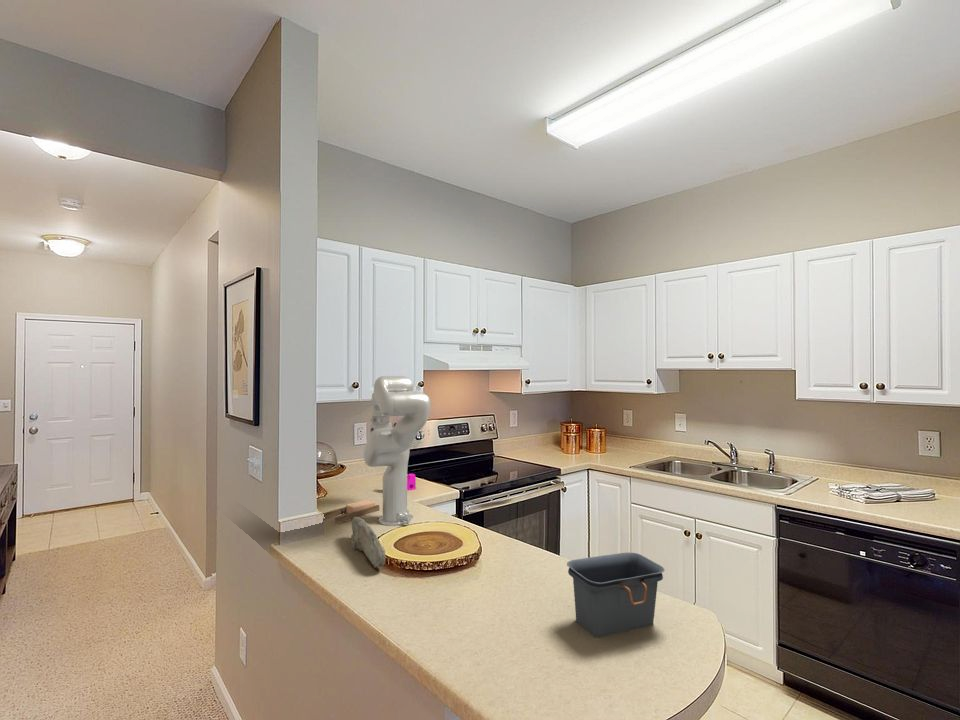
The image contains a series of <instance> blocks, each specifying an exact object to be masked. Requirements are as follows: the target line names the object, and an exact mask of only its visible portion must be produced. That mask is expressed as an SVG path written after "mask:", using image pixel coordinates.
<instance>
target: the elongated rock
mask: <svg viewBox="0 0 960 720" xmlns="http://www.w3.org/2000/svg"><path fill="white" fill-rule="evenodd" d="M351 532H352V534H351V535H350V541H351V545H350V547H351V549H352V550H358V551H360V552H363V553H364V555H365V556H366V557H367V559H368V560H369V561H370V563H371V564H372V565H373V568H378V569H383V566H384V565H385V564H386V550H385V548H384V546H382V545H383V544H381V542H380V541H379V538H378V537H377V534H376V533H375V532H374V530H373V528H372V527H371V526H369V524H368V523H367V521H365V519H364V518H361V516H360V517H354V518H353V519H351Z"/></svg>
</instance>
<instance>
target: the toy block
mask: <svg viewBox="0 0 960 720" xmlns="http://www.w3.org/2000/svg"><path fill="white" fill-rule="evenodd" d="M416 479H417V478H416V474H415V473H407V491H413V490H416V489H417V487H416V481H417V480H416Z"/></svg>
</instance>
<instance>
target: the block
mask: <svg viewBox="0 0 960 720" xmlns="http://www.w3.org/2000/svg"><path fill="white" fill-rule="evenodd" d="M372 506H376V502H374V501H372V500H368V499H366V500H361V501H357V502H352V503H347V504H346V505H345V507H346V513H345V514H349V513H352V512H356V511H359V510H362V509H366V508H369V507H372Z"/></svg>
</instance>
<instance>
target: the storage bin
mask: <svg viewBox="0 0 960 720" xmlns="http://www.w3.org/2000/svg"><path fill="white" fill-rule="evenodd" d="M566 566H567V567H568V569H567V571H568V575H569V576H570V577H572V579H573V580H572V581H573V593H574V596H573V597H574V608H575V622H577V624H579V625H580V626H581V627H582V628H583V629H584V630H585V631H586V632H588V633H589V634H590V635H591V636H592V637H593V638H597V639H599V638H604V637H607V636H612V635H615V634H618V633H623V632H628V631H631V630H635V629H640V628H643V627H648V626H652V625H654V619H655V611H656V602H657V601H656V600H657V593H658V583H659V582H660V581H662V580H664V575H663V573H664V572H665V568H664V566H662V565H661V564H659V563H657V562H655V561H653V560H652V559H649V558H648V557H646V556H644V555H643V554H640V553H636V552H620V553H612V554H611V553H610V554H605V555H599V556H592V557H591V556H590V557H583V558H578V559H571V560H569V561H567V562H566Z"/></svg>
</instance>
